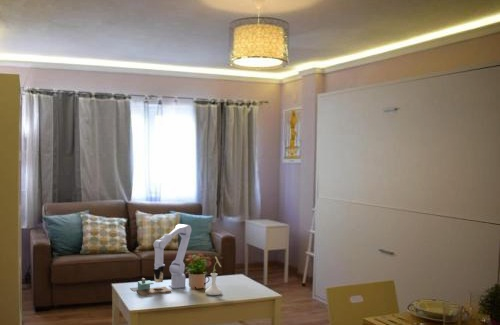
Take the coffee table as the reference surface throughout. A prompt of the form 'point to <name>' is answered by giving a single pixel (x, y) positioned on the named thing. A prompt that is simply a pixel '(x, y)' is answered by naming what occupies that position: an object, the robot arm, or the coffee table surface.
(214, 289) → the flower in vase
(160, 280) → the block
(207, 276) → the coffee mug
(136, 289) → the mat
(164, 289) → the board
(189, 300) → the coffee table surface
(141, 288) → the cover
